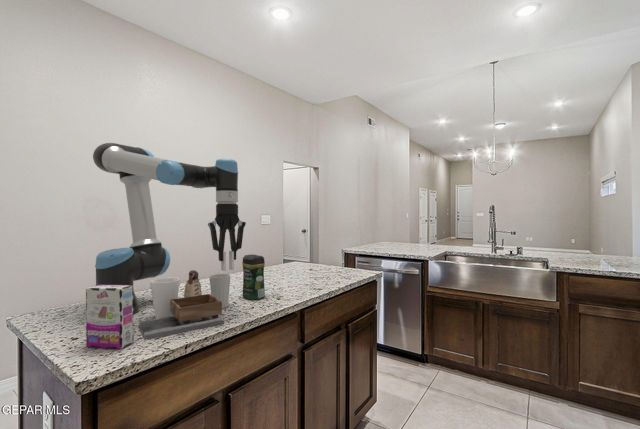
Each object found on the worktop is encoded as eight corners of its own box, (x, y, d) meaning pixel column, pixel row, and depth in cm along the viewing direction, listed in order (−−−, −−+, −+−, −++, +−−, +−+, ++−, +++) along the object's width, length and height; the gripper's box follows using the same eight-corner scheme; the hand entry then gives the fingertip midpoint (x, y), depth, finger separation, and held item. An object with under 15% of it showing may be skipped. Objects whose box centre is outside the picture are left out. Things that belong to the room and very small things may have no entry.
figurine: (204, 295, 145) (204, 268, 145) (197, 300, 138) (196, 271, 138) (189, 295, 146) (189, 268, 146) (181, 299, 139) (180, 271, 139)
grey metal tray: (138, 326, 106) (138, 321, 106) (210, 313, 119) (210, 308, 119) (145, 340, 94) (145, 333, 94) (223, 323, 108) (223, 318, 108)
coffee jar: (239, 297, 142) (239, 254, 141) (254, 294, 147) (254, 253, 147) (252, 301, 135) (252, 256, 135) (267, 297, 141) (267, 254, 141)
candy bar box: (134, 342, 93) (134, 284, 93) (121, 349, 88) (121, 288, 88) (100, 340, 95) (99, 283, 94) (85, 347, 90) (84, 287, 90)
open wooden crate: (170, 314, 111) (170, 299, 111) (209, 308, 119) (209, 293, 119) (179, 325, 100) (179, 308, 100) (222, 317, 108) (221, 301, 108)
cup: (224, 309, 124) (224, 278, 124) (205, 308, 125) (205, 277, 125) (234, 303, 132) (234, 274, 132) (216, 303, 133) (215, 273, 133)
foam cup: (160, 323, 109) (160, 284, 109) (145, 318, 114) (144, 281, 114) (185, 315, 117) (185, 279, 117) (170, 311, 122) (169, 276, 122)
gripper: (208, 202, 108) (209, 273, 108) (251, 203, 117) (252, 269, 117) (202, 203, 114) (202, 270, 114) (243, 203, 123) (243, 266, 123)
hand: (227, 269), depth 116 cm, fingers open, 2 cm apart
